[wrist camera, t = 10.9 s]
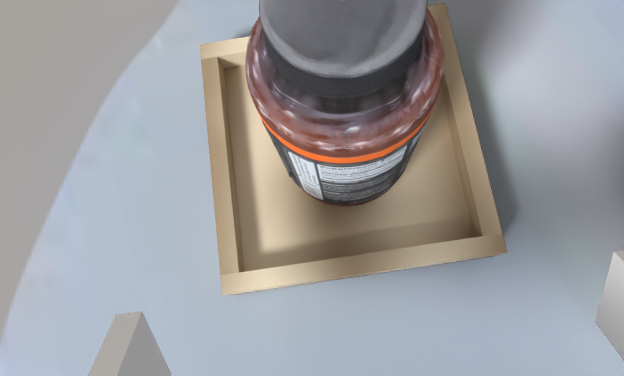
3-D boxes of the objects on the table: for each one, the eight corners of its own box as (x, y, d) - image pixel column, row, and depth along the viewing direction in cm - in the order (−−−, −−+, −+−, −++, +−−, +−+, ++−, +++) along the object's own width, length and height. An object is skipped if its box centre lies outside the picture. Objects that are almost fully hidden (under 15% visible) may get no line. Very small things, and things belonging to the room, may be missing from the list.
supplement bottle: (286, 91, 22) (227, -109, 11) (407, 91, 22) (468, -118, 11) (279, 209, 21) (205, 111, 10) (409, 212, 20) (481, 112, 9)
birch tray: (436, 29, 24) (444, 2, 21) (490, 256, 21) (507, 252, 18) (213, 67, 24) (199, 44, 22) (234, 294, 21) (222, 294, 19)
